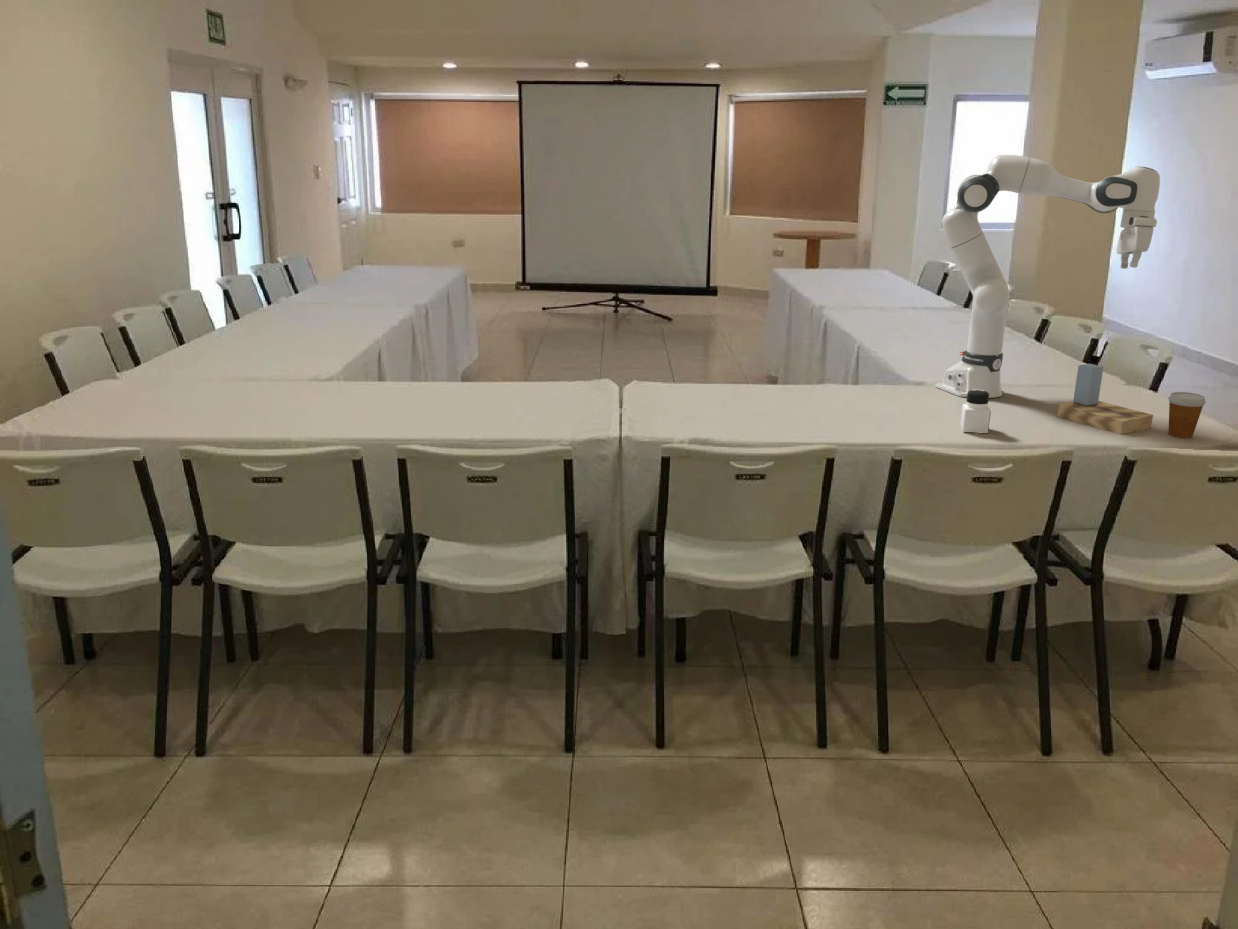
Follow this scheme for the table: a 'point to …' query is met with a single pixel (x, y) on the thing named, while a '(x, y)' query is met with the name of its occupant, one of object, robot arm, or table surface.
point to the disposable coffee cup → (1184, 413)
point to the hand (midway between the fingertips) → (1128, 267)
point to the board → (1106, 417)
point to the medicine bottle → (976, 412)
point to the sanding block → (1088, 385)
